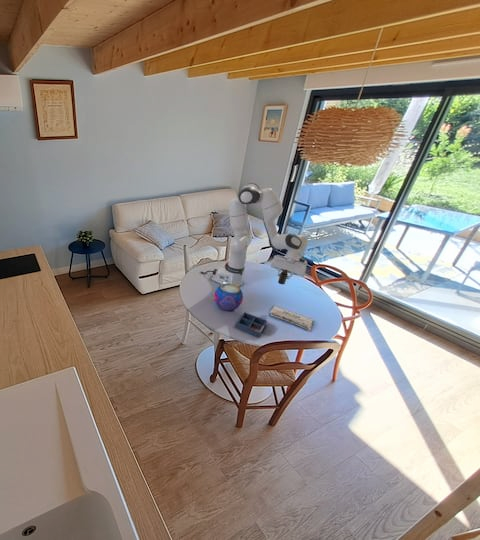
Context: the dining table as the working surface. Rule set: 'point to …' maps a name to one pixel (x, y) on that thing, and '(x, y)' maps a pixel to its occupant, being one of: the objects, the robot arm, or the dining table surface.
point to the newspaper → (292, 317)
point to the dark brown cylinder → (283, 277)
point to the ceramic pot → (228, 296)
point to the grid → (251, 324)
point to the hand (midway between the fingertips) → (282, 277)
